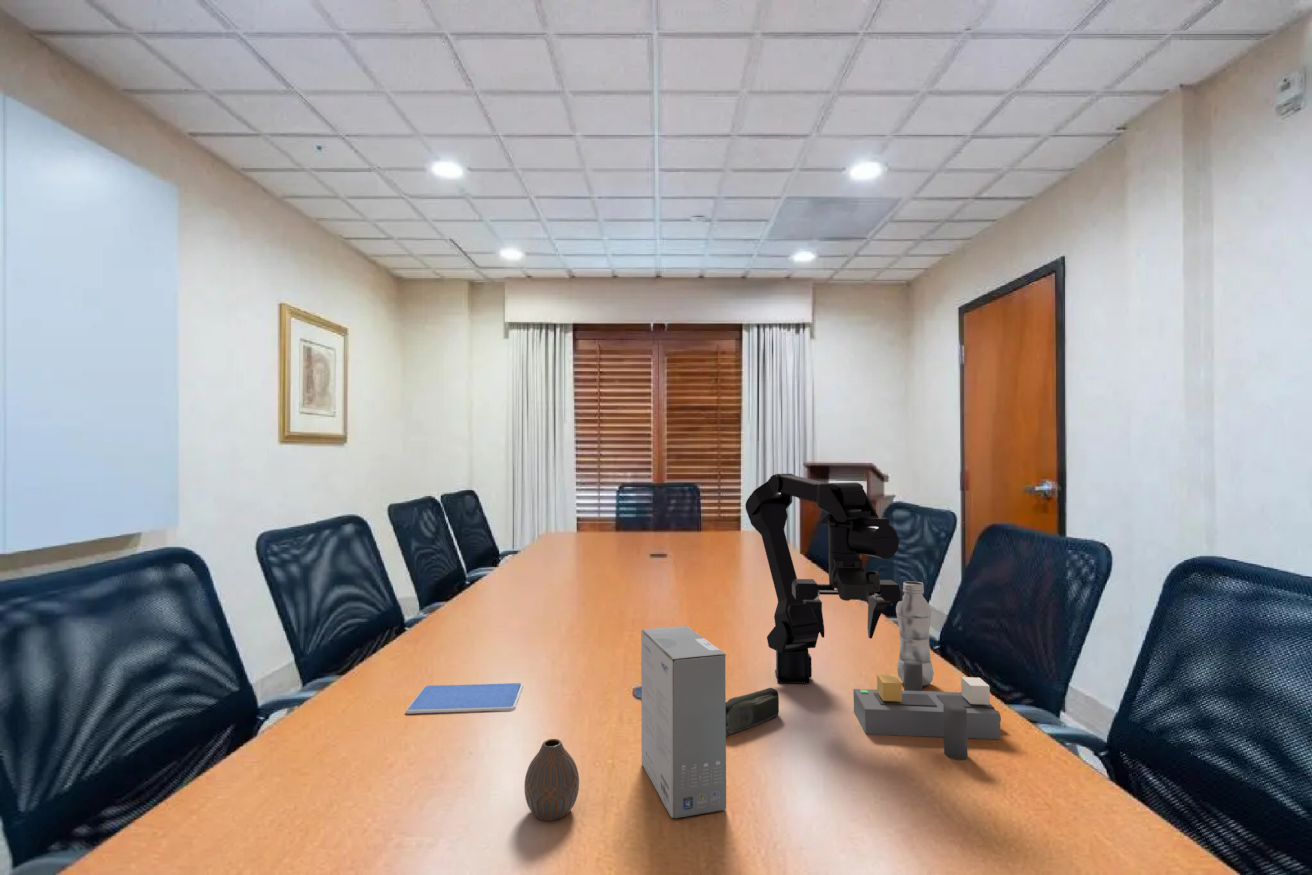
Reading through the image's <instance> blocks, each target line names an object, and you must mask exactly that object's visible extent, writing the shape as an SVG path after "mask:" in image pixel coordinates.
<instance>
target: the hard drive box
mask: <svg viewBox="0 0 1312 875" xmlns="http://www.w3.org/2000/svg"><path fill="white" fill-rule="evenodd" d="M640 632H641V641H640V642H641V664H640V665H641V765H642V766H643V768H644V770H645V772H646V774H647V776H648V778H649V779H650V781H651V783H652V785H653V787H654V789H655V790H656V793H657V795H659V798H660V801H661V802H662V805H663V806H664V807H665V809H666V811H667V813H668V815H669V816H670V818H672V819H680V818H685V817H691V816H696V815H702V814H709V813H715V812H720V811H726V810H727V736H726V702H727V701H726V696H727V695H726V693H727V692H726V656H727V654H726V653H725V652H724V651H722V650H721V649H720V648H718V647H717V646H716V645H715V644H713V643H711V642H710V641H709V640H707V639H706V638H705V637H703V636H702V635H700V634H698V633H697V632H696V631H694V629H692V628H690V627H689V626H687V625H682V626H668V627H667V626H666V627H655V628H644V629H643V628H642V630H641V631H640Z"/></svg>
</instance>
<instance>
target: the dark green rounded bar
mask: <svg viewBox="0 0 1312 875" xmlns="http://www.w3.org/2000/svg"><path fill="white" fill-rule="evenodd" d="M779 698H780V697H779V691H778V690H777V689H776V688H773V687H768V688H765V689H761V690H757V691H753V692H751V693H747V694H744V695H743V694H742V695H739V696H734V697H732V698H729V699H728V700H727V701H726V737H728V736H730V735H732V734H734V733H738V732H740V731H744V730H747V729H749V728H752V727H755V726H757V725H760V723H761V724H763V723H766V722H768V721H771V720H774V719H776V717H778V716H779V714H780V700H779ZM773 718H774V719H773Z"/></svg>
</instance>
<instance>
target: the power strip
mask: <svg viewBox="0 0 1312 875" xmlns="http://www.w3.org/2000/svg"><path fill="white" fill-rule="evenodd" d="M946 704H956V705H960V706H963V707H965V708H966V709H967V739H977V740H978V739H980V740H981V739H982V740H1001V721H1002V718H1001V713H1000V712H999V710H996V709H995V707H994V706H993V705H992V704H991V703H990V705H985V704H970V703H969V702H968V701H967V700H966V699H965V698H964V697H963V696H962V691H961V692H960V691H959V692H958V691H955V692H954V691H934V690H933V691H931V690H930V691H928V690H923V691H904V689H903V690H902V701H883V700H882V698H881V697H880V695H879V694H878V692H877V689H868V688H853V713H854V715H855V716H856V718H857V720H858V723H859V724H860V727H861V729H862V730H863V732H864V734H866V735H884V736H887V735H888V736H907V737H909V736H910V737H912V736H913V737H935V738H944V712H943V706H944V705H946Z"/></svg>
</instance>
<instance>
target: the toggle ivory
mask: <svg viewBox="0 0 1312 875" xmlns="http://www.w3.org/2000/svg"><path fill="white" fill-rule="evenodd" d="M960 679H961V680H960V683H961V684H960V686H961V687H960V688H961V692H962V696H963V697H964V698H965V699H966V700H967V701H968V702H969V703H970V704H985V705H990V704H991V690H990V685H989V684H988V683H987V682H985V681H984V680H983V679H982V678H981V677H972V676H971V677H970V676H969V677H968V676H965V677H964V676H961V677H960Z"/></svg>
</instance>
